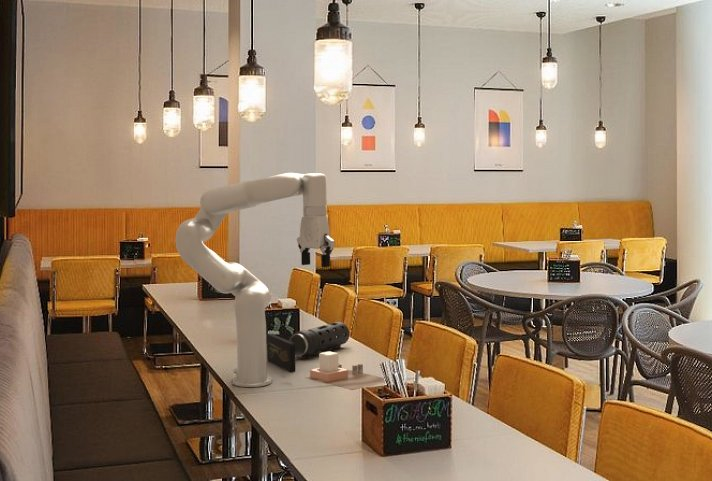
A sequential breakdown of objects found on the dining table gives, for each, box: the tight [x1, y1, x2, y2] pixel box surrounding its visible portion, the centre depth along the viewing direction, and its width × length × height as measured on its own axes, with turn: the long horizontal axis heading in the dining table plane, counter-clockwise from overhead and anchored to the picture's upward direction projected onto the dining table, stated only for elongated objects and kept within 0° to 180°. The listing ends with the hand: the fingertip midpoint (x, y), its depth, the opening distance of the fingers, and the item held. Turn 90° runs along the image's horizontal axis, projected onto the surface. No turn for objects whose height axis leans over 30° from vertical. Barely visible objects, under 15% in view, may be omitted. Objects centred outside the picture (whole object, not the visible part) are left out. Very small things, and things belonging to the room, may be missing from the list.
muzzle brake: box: [288, 321, 350, 358], centre depth 335 cm, size 10×28×10 cm, turn 148°
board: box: [304, 363, 386, 391], centre depth 290 cm, size 23×18×4 cm
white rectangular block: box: [318, 350, 339, 373], centre depth 292 cm, size 4×4×8 cm
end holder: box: [309, 367, 349, 382], centre depth 292 cm, size 9×9×2 cm
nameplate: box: [266, 333, 296, 373], centre depth 313 cm, size 21×2×10 cm, turn 28°
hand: (315, 265), depth 284 cm, fingers open, 9 cm apart
